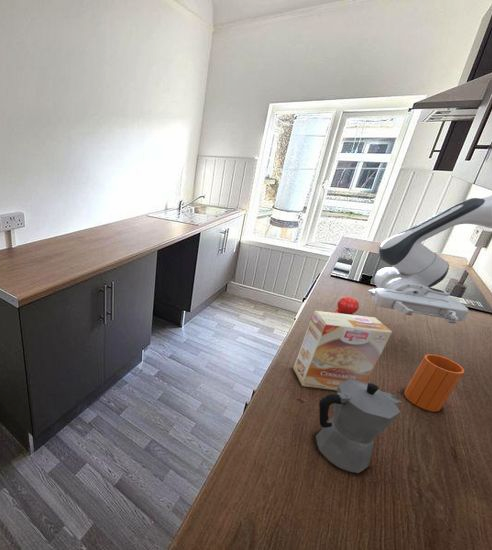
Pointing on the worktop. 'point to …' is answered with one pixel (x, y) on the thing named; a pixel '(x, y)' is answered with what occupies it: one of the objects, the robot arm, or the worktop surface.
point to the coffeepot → (354, 423)
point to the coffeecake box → (339, 349)
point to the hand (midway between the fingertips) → (431, 316)
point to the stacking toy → (347, 306)
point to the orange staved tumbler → (433, 382)
